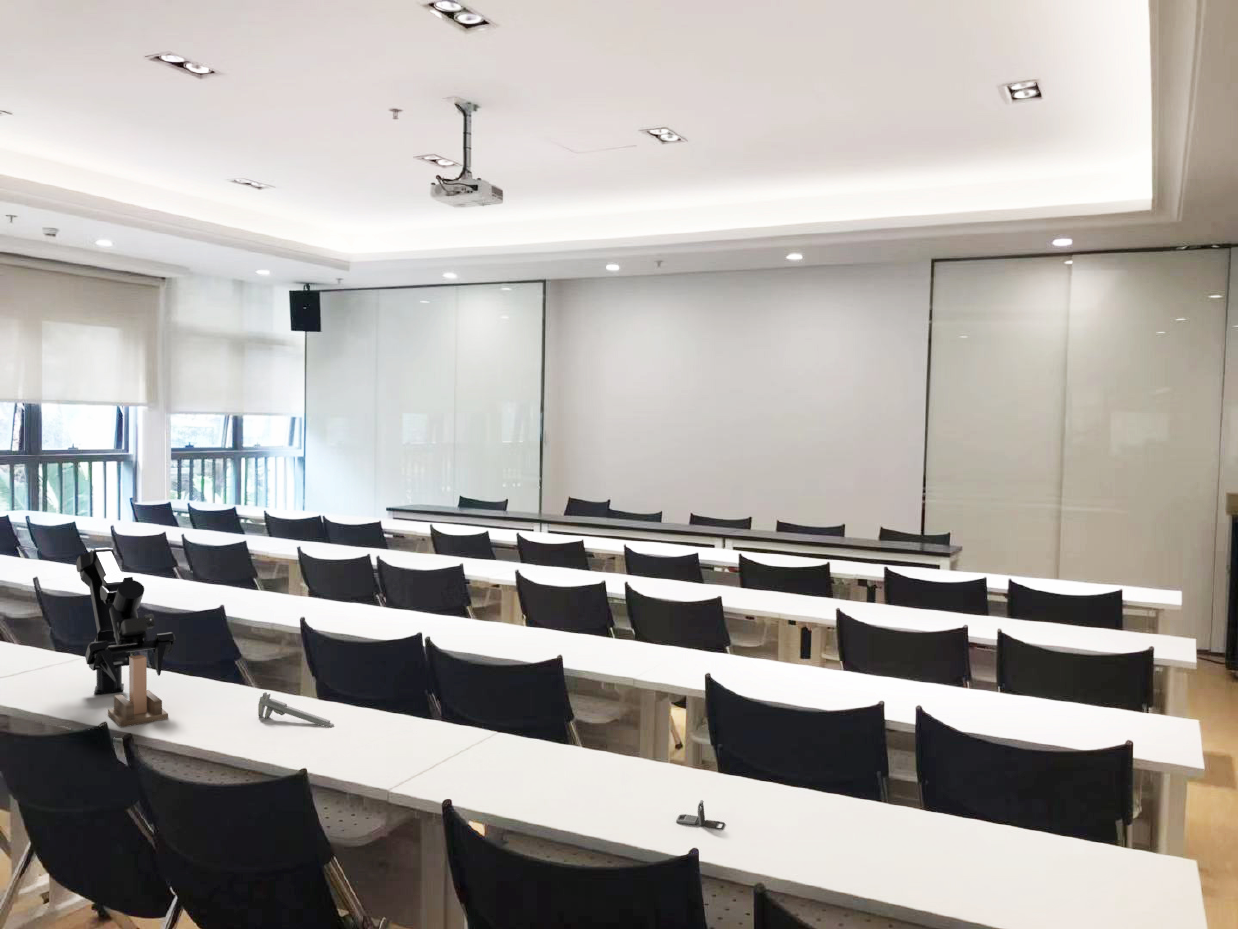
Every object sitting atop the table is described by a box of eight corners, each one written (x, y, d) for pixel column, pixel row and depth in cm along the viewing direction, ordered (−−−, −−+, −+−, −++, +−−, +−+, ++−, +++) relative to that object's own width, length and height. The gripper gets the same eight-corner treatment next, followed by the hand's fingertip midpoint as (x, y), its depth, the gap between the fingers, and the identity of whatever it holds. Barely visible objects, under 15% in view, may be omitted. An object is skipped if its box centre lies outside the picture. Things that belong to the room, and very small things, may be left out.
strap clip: (675, 825, 165) (675, 802, 164) (679, 818, 168) (679, 795, 167) (722, 832, 162) (722, 808, 162) (725, 825, 165) (725, 801, 165)
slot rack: (108, 714, 219) (107, 696, 219) (153, 706, 226) (153, 688, 226) (121, 727, 210) (121, 708, 210) (168, 718, 217) (168, 700, 217)
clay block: (129, 710, 218) (129, 656, 218) (142, 708, 220) (142, 654, 220) (133, 714, 216) (133, 659, 215) (146, 712, 218) (146, 657, 217)
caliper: (258, 718, 219) (258, 692, 219) (261, 717, 220) (261, 691, 220) (332, 728, 213) (332, 701, 213) (334, 727, 214) (334, 700, 214)
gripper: (88, 608, 214) (99, 665, 206) (173, 599, 227) (187, 653, 219) (80, 635, 220) (91, 692, 213) (164, 625, 233) (177, 678, 225)
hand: (138, 678), depth 217 cm, fingers open, 9 cm apart
